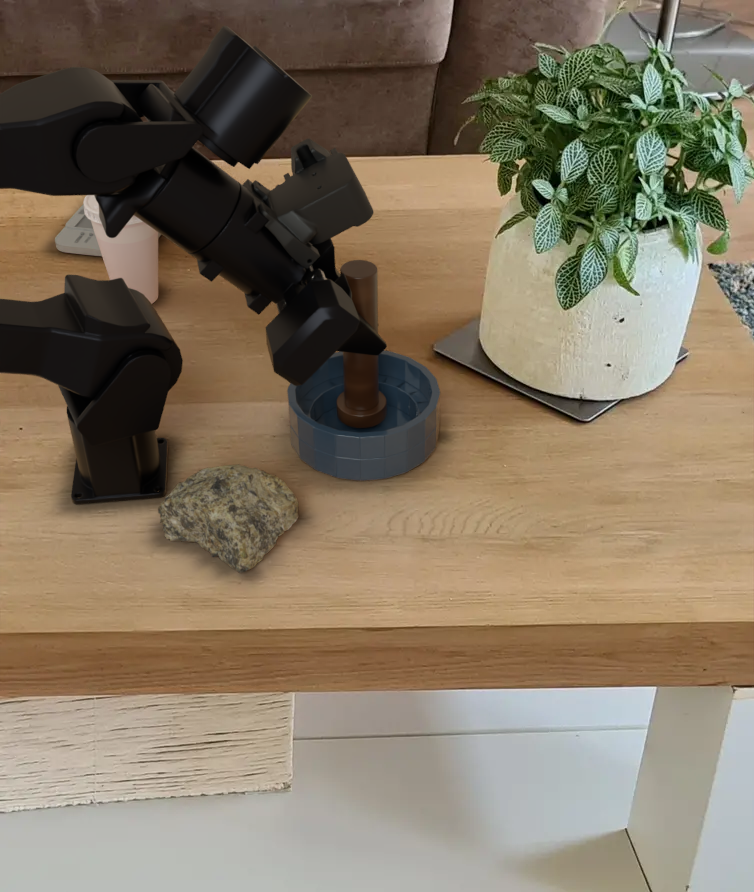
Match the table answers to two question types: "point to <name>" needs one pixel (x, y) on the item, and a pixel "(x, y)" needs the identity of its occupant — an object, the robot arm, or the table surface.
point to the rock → (230, 513)
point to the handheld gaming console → (79, 236)
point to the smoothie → (128, 251)
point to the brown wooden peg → (360, 371)
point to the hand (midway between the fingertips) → (378, 339)
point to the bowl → (373, 448)
